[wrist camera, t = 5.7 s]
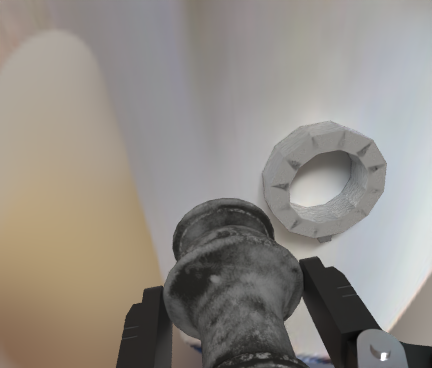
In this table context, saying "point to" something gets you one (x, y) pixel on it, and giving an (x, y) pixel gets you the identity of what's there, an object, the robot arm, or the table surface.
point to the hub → (339, 206)
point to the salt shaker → (233, 286)
